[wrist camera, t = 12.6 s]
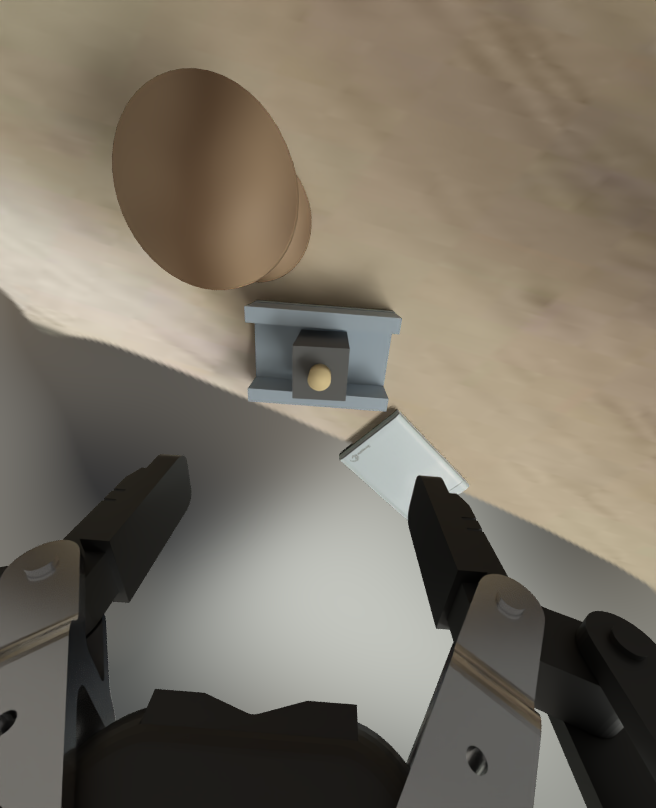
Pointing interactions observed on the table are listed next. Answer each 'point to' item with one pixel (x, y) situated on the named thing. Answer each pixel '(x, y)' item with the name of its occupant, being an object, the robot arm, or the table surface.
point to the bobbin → (209, 182)
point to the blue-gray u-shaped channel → (286, 320)
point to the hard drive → (398, 462)
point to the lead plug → (320, 365)
